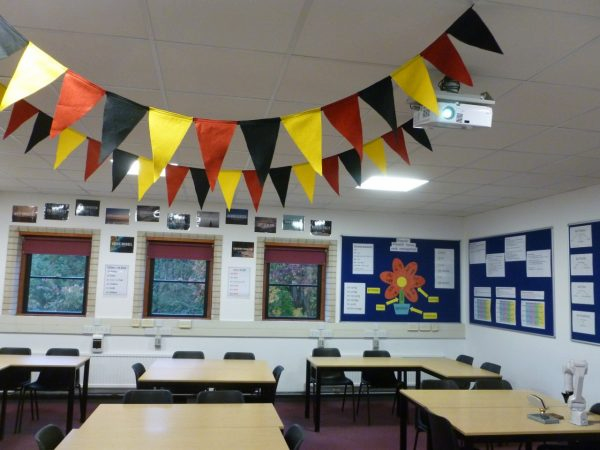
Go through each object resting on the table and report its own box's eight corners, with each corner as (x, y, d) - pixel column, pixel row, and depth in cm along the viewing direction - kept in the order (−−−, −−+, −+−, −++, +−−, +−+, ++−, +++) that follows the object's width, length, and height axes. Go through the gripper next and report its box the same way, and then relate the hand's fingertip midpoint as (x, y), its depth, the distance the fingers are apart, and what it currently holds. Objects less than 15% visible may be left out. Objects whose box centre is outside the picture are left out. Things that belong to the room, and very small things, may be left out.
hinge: (549, 409, 362) (544, 396, 362) (544, 411, 361) (539, 398, 361) (534, 404, 378) (530, 391, 379) (529, 406, 377) (525, 393, 378)
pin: (547, 420, 329) (547, 409, 330) (542, 420, 328) (542, 409, 329) (543, 418, 333) (542, 407, 334) (538, 418, 332) (538, 408, 332)
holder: (563, 419, 334) (563, 416, 334) (553, 420, 332) (553, 417, 332) (553, 415, 343) (553, 413, 343) (543, 416, 340) (543, 413, 340)
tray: (559, 423, 324) (559, 419, 324) (544, 424, 321) (544, 420, 321) (541, 416, 339) (541, 413, 340) (527, 417, 336) (527, 414, 336)
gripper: (567, 381, 350) (568, 400, 349) (557, 382, 342) (558, 402, 340) (577, 382, 345) (578, 402, 343) (568, 384, 336) (569, 404, 334)
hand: (569, 402), depth 341 cm, fingers open, 7 cm apart
